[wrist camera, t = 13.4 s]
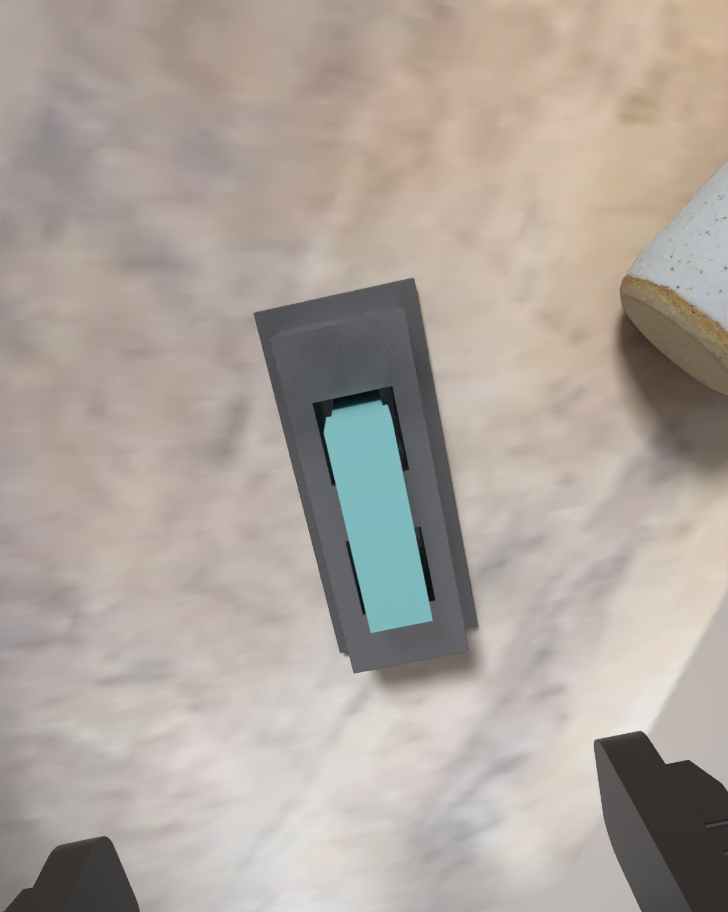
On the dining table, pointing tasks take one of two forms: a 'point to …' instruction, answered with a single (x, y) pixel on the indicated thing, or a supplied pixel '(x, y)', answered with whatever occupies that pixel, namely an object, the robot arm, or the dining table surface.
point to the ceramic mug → (687, 287)
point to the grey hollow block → (419, 445)
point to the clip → (376, 511)
